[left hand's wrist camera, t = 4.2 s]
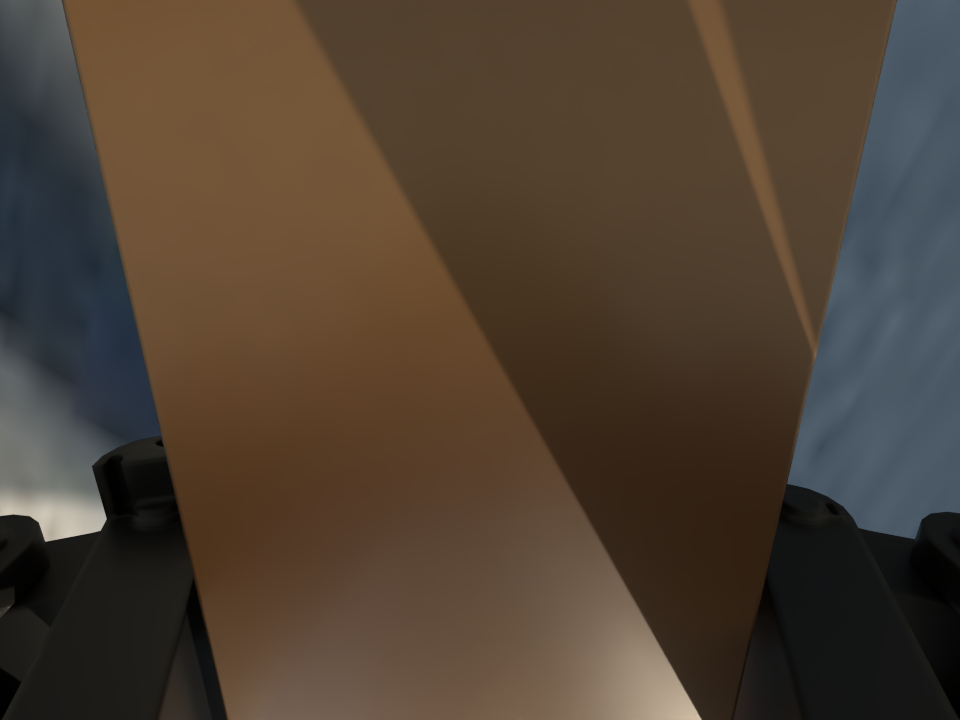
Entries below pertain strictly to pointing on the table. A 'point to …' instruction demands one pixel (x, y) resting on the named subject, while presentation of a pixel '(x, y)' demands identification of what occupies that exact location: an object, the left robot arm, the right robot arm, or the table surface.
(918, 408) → the table surface
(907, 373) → the table surface
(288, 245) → the bar
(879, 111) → the table surface
